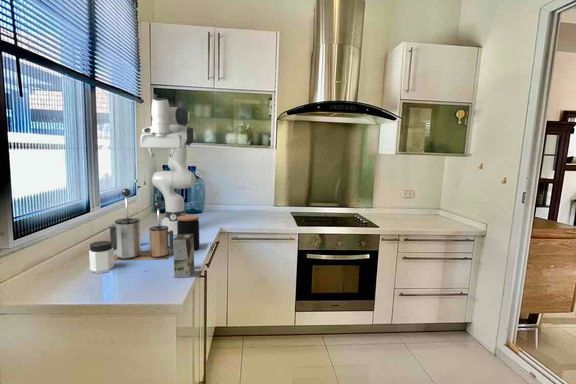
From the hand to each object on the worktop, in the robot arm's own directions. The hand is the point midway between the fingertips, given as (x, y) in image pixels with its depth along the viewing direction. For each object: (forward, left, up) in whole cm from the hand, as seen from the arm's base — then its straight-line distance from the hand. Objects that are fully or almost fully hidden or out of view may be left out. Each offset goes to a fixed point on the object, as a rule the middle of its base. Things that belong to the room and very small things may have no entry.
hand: (161, 157), depth 170 cm
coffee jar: (+9, +14, -48) cm, 51 cm away
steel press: (+19, -13, -47) cm, 52 cm away
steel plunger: (+19, -12, -36) cm, 43 cm away
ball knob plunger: (+19, +2, -38) cm, 43 cm away
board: (+18, -6, -48) cm, 52 cm away
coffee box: (+41, +17, -48) cm, 66 cm away
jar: (+34, -18, -48) cm, 62 cm away
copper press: (+19, +3, -47) cm, 51 cm away
